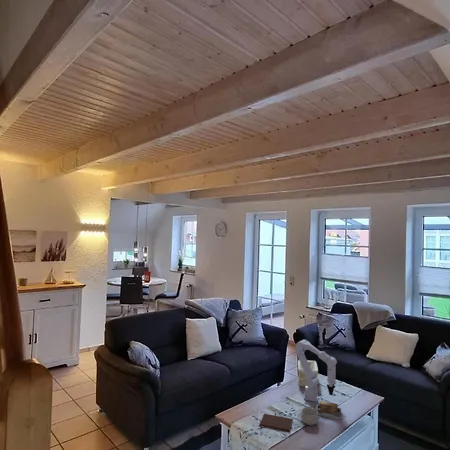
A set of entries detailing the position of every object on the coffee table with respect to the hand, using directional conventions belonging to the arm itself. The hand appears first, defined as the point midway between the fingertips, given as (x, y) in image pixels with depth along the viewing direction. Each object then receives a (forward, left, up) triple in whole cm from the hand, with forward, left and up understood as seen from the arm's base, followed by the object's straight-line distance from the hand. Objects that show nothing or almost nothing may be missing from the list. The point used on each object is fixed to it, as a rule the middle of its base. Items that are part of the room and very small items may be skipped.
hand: (331, 392), depth 258 cm
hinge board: (-1, -13, -9) cm, 16 cm away
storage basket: (-21, +35, -10) cm, 42 cm away
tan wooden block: (-1, -13, -8) cm, 16 cm away
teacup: (-12, -29, -10) cm, 33 cm away
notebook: (-33, -39, -10) cm, 52 cm away
